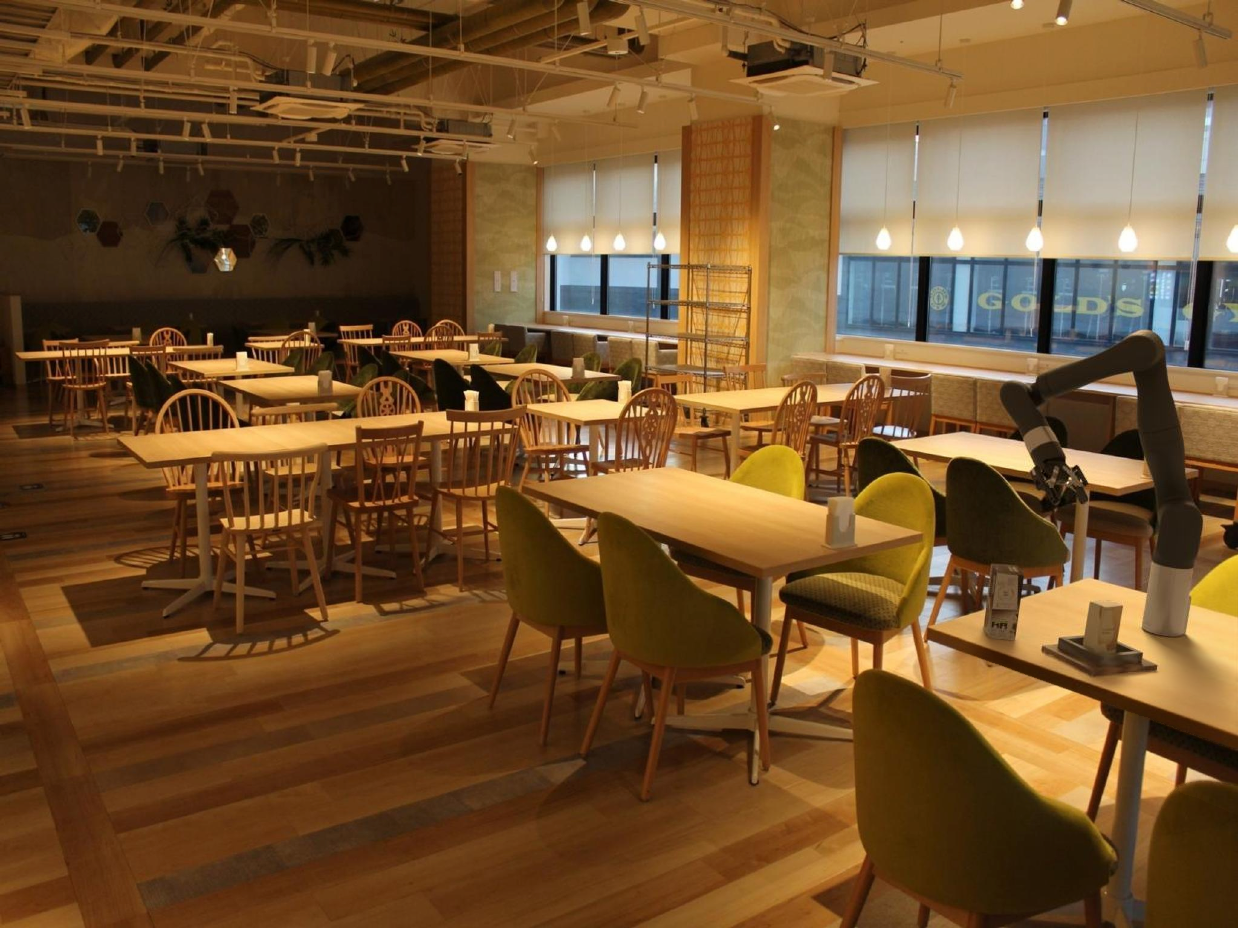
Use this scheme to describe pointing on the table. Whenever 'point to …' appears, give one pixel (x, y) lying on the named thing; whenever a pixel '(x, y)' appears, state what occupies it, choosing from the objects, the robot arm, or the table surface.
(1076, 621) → the table surface
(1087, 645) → the skincare box
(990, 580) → the coffee box
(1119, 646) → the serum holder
